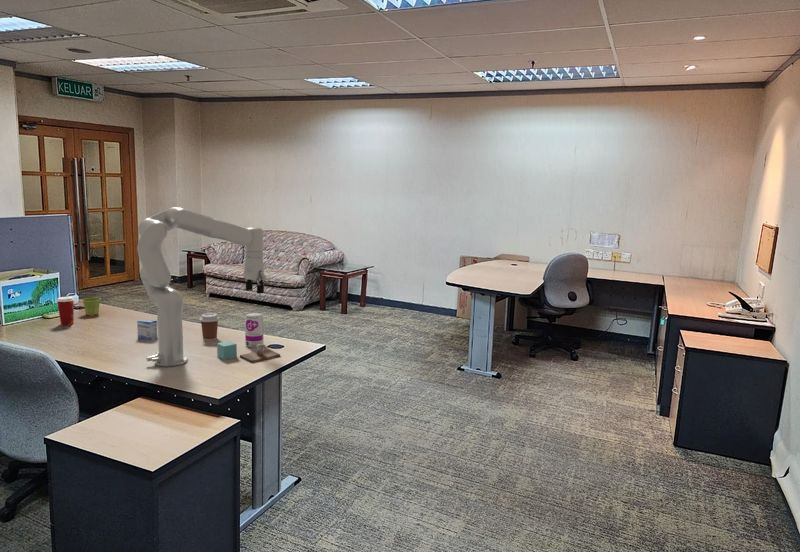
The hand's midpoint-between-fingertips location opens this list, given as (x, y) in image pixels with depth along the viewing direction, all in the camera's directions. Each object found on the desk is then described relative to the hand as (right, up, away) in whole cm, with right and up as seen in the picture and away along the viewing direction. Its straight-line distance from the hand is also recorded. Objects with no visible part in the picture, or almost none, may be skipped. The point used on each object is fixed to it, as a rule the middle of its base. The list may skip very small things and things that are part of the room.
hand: (254, 291), depth 246 cm
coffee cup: (-26, -24, +15) cm, 38 cm away
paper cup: (-107, -18, +33) cm, 114 cm away
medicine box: (-56, -23, +13) cm, 62 cm away
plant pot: (-106, -15, +55) cm, 121 cm away
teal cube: (-9, -28, -12) cm, 32 cm away
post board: (+5, -28, -10) cm, 31 cm away
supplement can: (-2, -26, +6) cm, 27 cm away
